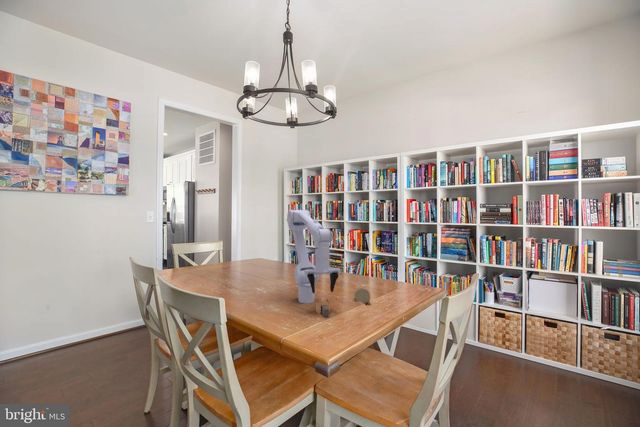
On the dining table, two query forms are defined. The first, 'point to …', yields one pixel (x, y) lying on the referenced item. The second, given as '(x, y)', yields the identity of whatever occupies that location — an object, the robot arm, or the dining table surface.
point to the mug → (362, 295)
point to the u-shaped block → (322, 303)
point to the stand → (324, 311)
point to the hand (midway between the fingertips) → (322, 291)
